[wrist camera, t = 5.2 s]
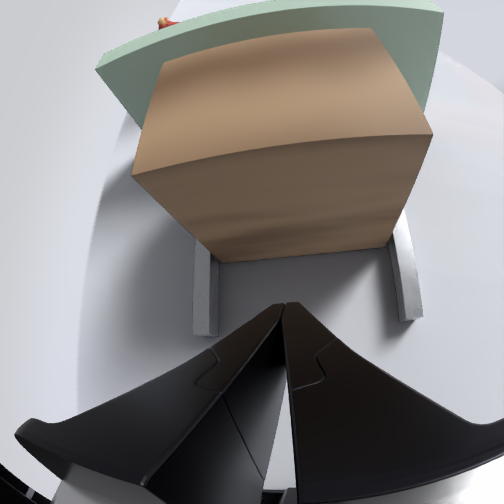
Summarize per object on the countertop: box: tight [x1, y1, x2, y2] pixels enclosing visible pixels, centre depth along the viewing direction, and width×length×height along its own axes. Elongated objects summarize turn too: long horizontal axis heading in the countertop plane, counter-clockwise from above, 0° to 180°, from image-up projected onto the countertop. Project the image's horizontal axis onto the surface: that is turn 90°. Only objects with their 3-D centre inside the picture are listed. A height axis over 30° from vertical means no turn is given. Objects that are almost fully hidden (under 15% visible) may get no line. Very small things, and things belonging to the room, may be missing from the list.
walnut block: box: [131, 28, 433, 263], centre depth 14 cm, size 7×10×10 cm
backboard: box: [95, 0, 444, 129], centre depth 17 cm, size 2×22×10 cm, turn 91°
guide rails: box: [193, 208, 423, 337], centre depth 18 cm, size 15×13×2 cm
